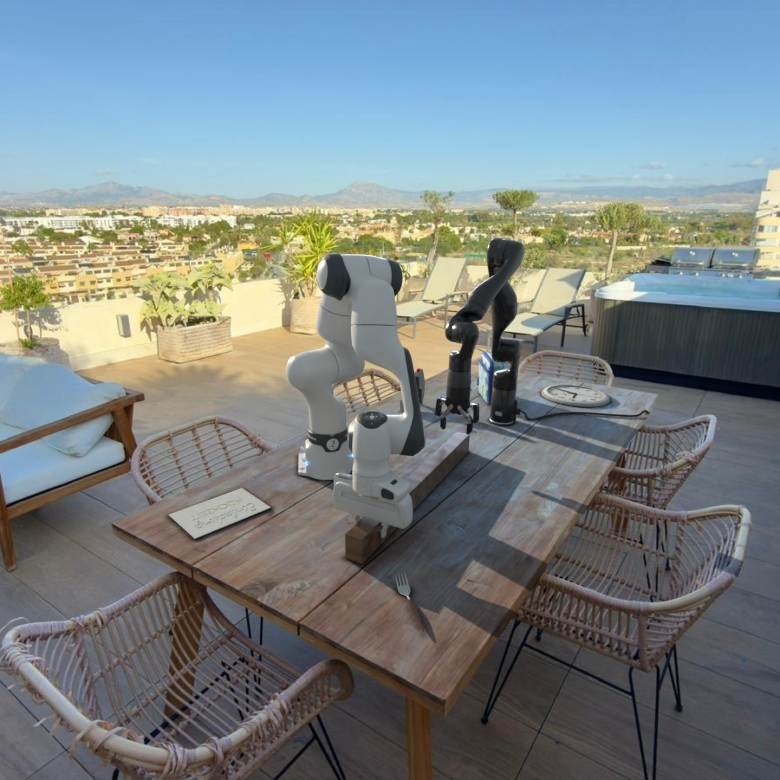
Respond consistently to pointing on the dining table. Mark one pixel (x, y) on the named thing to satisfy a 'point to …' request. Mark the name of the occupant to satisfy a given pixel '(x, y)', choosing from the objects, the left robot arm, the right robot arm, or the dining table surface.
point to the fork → (406, 591)
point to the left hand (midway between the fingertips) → (371, 532)
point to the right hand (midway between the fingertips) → (455, 431)
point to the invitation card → (218, 512)
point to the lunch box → (487, 375)
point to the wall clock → (575, 395)
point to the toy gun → (420, 387)
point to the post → (422, 482)
